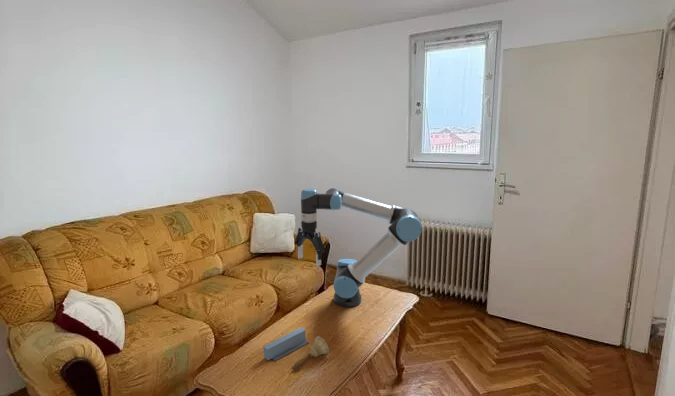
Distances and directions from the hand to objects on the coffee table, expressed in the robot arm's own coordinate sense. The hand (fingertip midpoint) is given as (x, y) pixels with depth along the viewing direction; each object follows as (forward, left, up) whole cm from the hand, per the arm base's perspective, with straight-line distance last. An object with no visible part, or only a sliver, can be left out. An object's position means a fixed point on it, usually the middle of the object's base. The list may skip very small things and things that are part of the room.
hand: (309, 261), depth 185 cm
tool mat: (+28, +17, -27) cm, 42 cm away
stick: (+29, +17, -26) cm, 43 cm away
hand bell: (+20, +31, -22) cm, 43 cm away
